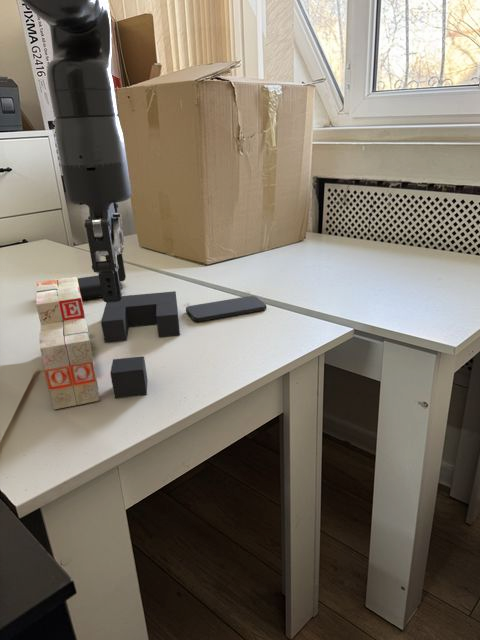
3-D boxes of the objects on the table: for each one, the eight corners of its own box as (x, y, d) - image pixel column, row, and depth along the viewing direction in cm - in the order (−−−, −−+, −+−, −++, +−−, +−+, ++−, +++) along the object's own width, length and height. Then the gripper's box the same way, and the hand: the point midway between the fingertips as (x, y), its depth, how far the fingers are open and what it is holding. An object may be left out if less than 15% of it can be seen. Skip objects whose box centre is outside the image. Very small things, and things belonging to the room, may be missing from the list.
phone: (268, 306, 100) (195, 318, 94) (268, 310, 100) (195, 322, 95) (253, 295, 106) (184, 306, 100) (253, 298, 106) (184, 310, 101)
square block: (114, 398, 71) (110, 373, 69) (117, 383, 75) (112, 359, 73) (146, 394, 71) (143, 369, 70) (147, 380, 75) (144, 355, 73)
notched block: (104, 342, 88) (100, 321, 86) (111, 316, 100) (107, 297, 98) (179, 335, 90) (177, 314, 88) (177, 310, 102) (175, 291, 100)
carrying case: (116, 282, 120) (50, 292, 115) (114, 269, 119) (48, 279, 114) (125, 295, 111) (54, 306, 106) (123, 281, 110) (51, 292, 105)
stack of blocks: (101, 401, 70) (85, 318, 65) (53, 411, 68) (32, 326, 63) (90, 343, 88) (77, 275, 83) (52, 350, 86) (36, 280, 81)
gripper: (70, 156, 65) (92, 277, 72) (48, 166, 53) (78, 312, 60) (129, 153, 67) (146, 273, 73) (122, 162, 54) (143, 306, 61)
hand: (115, 290), depth 67 cm, fingers open, 8 cm apart
